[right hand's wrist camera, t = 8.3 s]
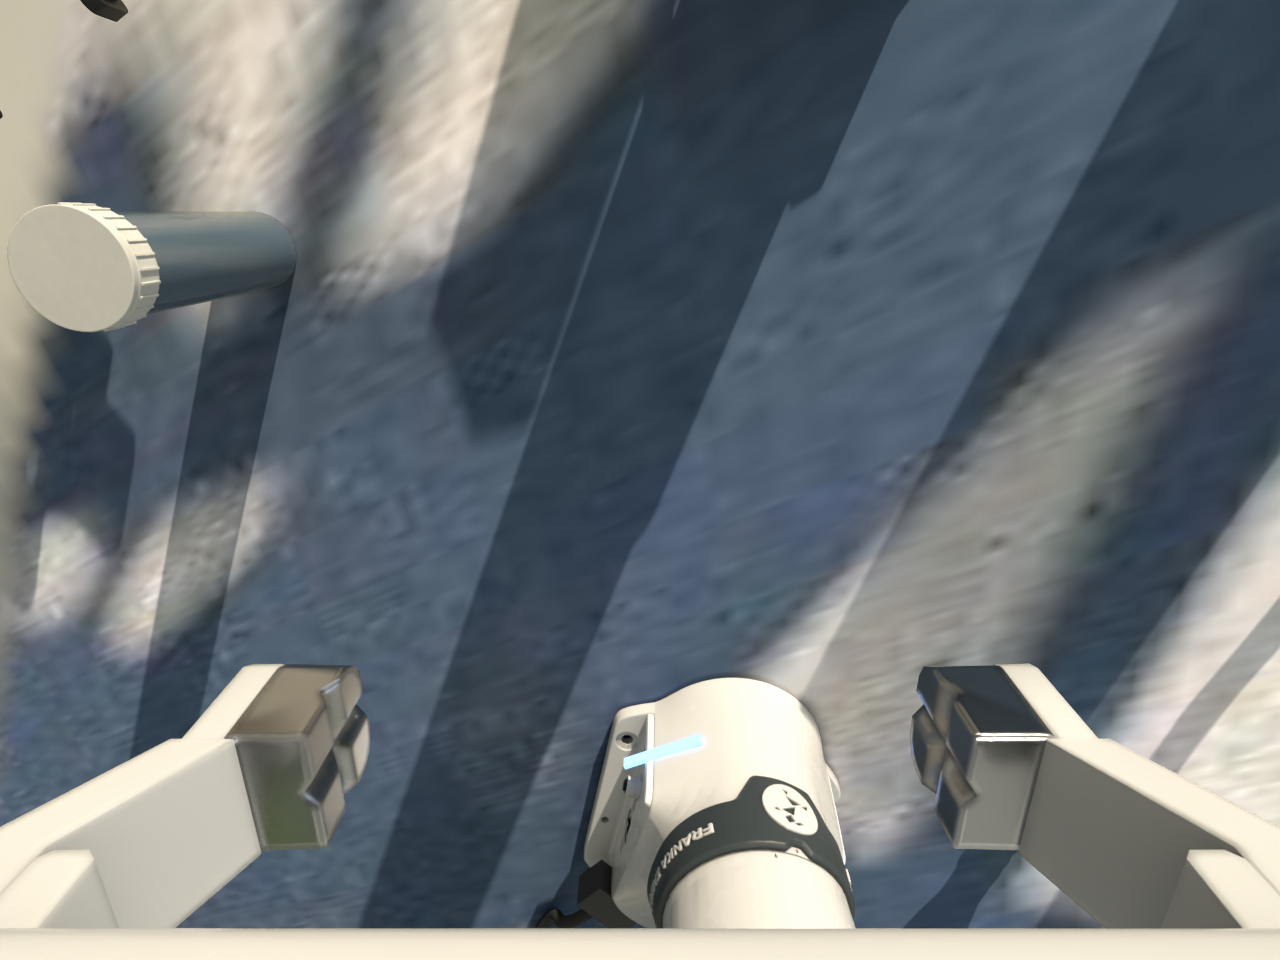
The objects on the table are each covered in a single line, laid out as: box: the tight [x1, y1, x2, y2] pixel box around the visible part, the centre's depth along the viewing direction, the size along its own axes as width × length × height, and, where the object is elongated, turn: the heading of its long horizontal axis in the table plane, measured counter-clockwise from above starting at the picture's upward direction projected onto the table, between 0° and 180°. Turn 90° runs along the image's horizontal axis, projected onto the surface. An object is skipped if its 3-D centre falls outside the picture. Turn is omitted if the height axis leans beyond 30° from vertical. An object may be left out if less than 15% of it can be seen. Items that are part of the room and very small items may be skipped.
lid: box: [7, 202, 161, 332], centre depth 30 cm, size 5×5×2 cm
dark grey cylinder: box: [112, 211, 296, 314], centre depth 37 cm, size 4×4×15 cm
